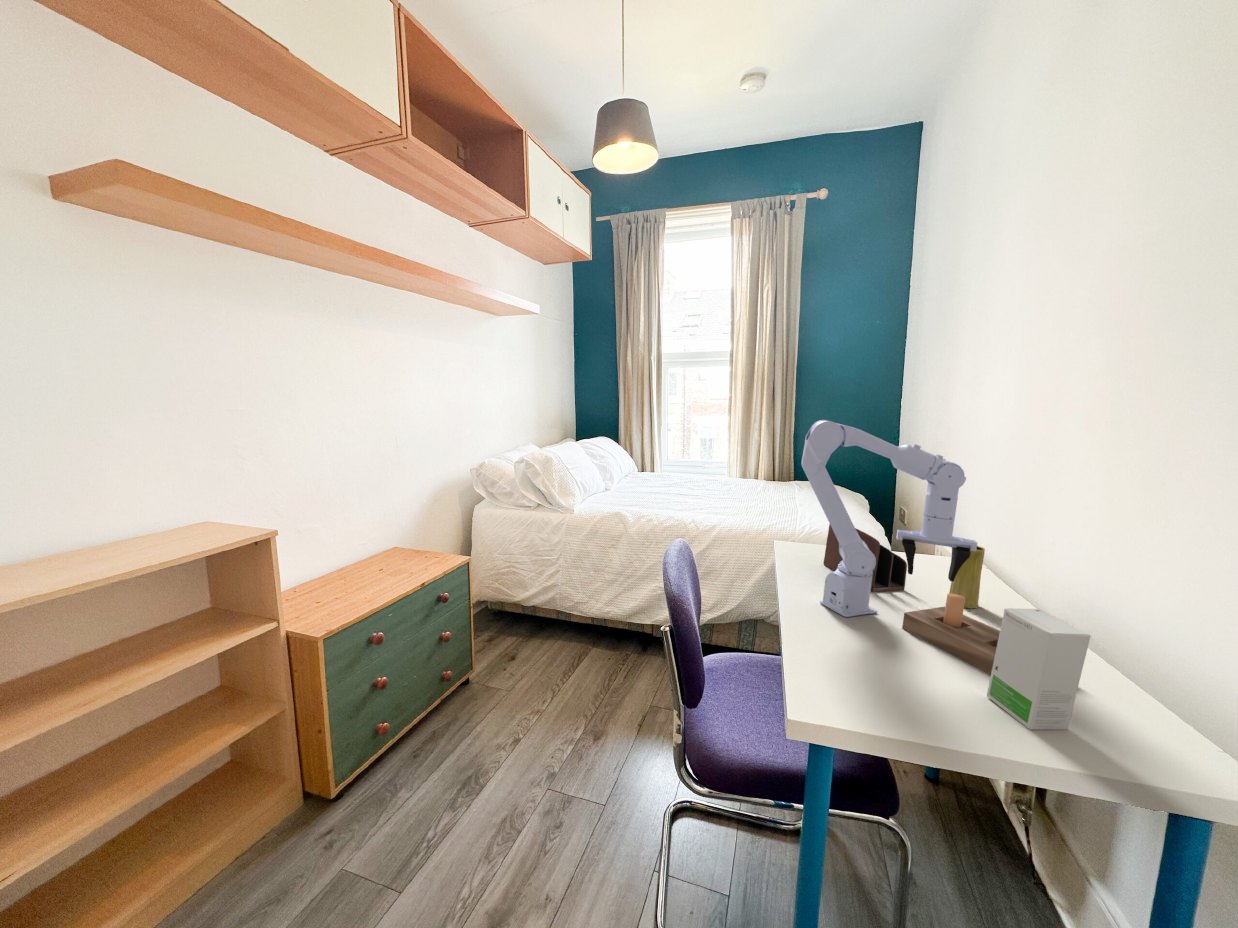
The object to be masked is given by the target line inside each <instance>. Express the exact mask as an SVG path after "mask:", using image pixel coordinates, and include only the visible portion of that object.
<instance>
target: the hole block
mask: <svg viewBox="0 0 1238 928" xmlns="http://www.w3.org/2000/svg"><path fill="white" fill-rule="evenodd" d="M945 607H946V606H939V607H932V608H927V609H919V610H913V611H907V612H904V613H903V619H902V620H903V621H902V627H901V628H902V629H903V630H905V631H906V632H909V633H910V634H913V635H914V636H916V637H918V638H920V639H922V640H924V641H926V642H928V643H930V644H932V645H934V646H935V647H936V648H937V647H938V648H940V649H941V650H943V651H945V652H947V653H948V654H951V655H953V656H954V657H956V658H959V659H960V660H962V661H964V662H966V663H968V664H970V665H971V666H973V667H976V668H977V669H979V670H981V671H983V672H985V673H986V674H988V675H991V672H992V668H993V662H994V658H995V653H996V648H997V644H998V639H999V634H1000V629H997V628H995V627H993V626H991V625H989V624H986V623H983V622H981V621H979V620H977V619H975V618H972V617H969V616H967V615H966V614H963V617H962V623H961V628H956V629H955V628H953V627H951V626H949V625H947V624H945V623H943V620H944V613H945Z"/></svg>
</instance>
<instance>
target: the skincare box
mask: <svg viewBox="0 0 1238 928" xmlns="http://www.w3.org/2000/svg"><path fill="white" fill-rule="evenodd" d="M999 630H1000V634H999V639H998V644H997V648H996V653H995V658H994V662H993V668H992V672H991V674H990V678H989V683H988V687H987V691H986V697H987V698H988V699H989V700H991V701H993V702H994V704H996V705H997V706H999V707H1000V708H1001V709H1002V710H1004V711H1005V712H1006V713H1008V714H1009V716H1012V717H1013V718H1014V719H1015V720H1016V721H1018V722H1019V723H1020V724H1021V725H1023V726H1024V727H1025V728H1027V729H1029V730H1030V731H1053V730H1055V731H1057V730H1059V731H1060V730H1066V731H1067V730H1068V729H1069V726H1070V721H1071V717H1072V712H1073V708H1074V705H1075V700H1076V697H1077V693H1078V689H1079V686H1080V685H1079V684H1080V680H1081V676H1082V672H1083V667H1084V664H1085V660H1086V656H1087V651H1088V648H1089V643H1090V640H1091V637H1092V636H1091V634H1090V633H1087V632H1086V631H1083V630H1081V629H1080V628H1078V627H1075V626H1074V625H1071V624H1070V623H1069V622H1068V621H1065V620H1064V619H1061V618H1059V617H1056V616H1054V615H1052V614H1050V613H1048V612H1046V611H1045V610H1044V609H1043V610H1042V609H1041V608H1006V607H1005V608H1004V611H1003V616H1002V621H1001V626H1000V629H999Z"/></svg>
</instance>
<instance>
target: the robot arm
mask: <svg viewBox="0 0 1238 928" xmlns="http://www.w3.org/2000/svg"><path fill="white" fill-rule="evenodd" d="M804 438H805V440H804V445H803V450H802V451H803V452H802V456H801V463H800V465H801V467H802V469H803V470H802V471H804V474H805V475H806V478H807V479H808V482H809V484H810V487H811V488H812V490H813V492H814V495H815V496H816V498H817V500H818V503H819V504H820V507H821V508H822V510H823V513H824V515H825V516H826V519H827V521H828V523H829V524H830V525H831V527H832V529H833V531H834V533H835V535H836V538H837V540H838V542H839V553H840V555H841V557H842V558H843V560H842V561H841V562H840V563H839V564H838V568H837V570H836V571H834V570H833V572H829V573H828V574H827V575H826V577H825V579H824V588H823V595H822V596H823V597H822V599H821V600H820V601H819V603H820V604H821V605H823V606H826V607H827V608H829V609H830V610H832V611H834V612H835V613H838V614H839V615H841V616H842V617H845V618H851V617H855V616H857V617H858V616H864V615H869V614H870V615H871V614H877V613H878V610H877V609H875V608H873V607H871V606H870V598H871V597H870V595H871V591H870V590H871V582H872V574H873V570H874V568H875V566H876V558H875V556H874V554H873V553H872V552H871V551H870V550H869V548H868V546H867V544H866V543H865V542H864V541H863V540H862V539H861V538H860V536H859V535H858V533H857V531H856V529H857V528H856V527H855V525H854V523H853V521H852V519H851V517H850V515H849V514H848V511H847V509H846V507H845V504H844V503H843V500H842V499H841V497H840V495H839V493H838V490H837V488H836V486H835V484H834V482H833V481H832V480H833V479H832V478H831V476H830V474H829V472H828V470H827V468H826V465H827V463H828V461H829V460H830V457H831V455H832V453H834V452H835V451H836V450H837V449H838V448H839V447H840V446H842V447H844V448H846V447H855V446H856V447H859V448H862V449H864V450H866V451H869V452H872V453H875V454H877V455H880V456H882V457H884V458H887V459H890V462H891V464H892V466H893V468H894V469H896V470H899V471H901V472H903V473H906V474H908V475H911V476H913V477H914V478H916V479H920V480H922V481H927V486H926V487H927V488H926V492H925V499H924V507H923V514H922V521H921V528H920V531H918V530H917V531H915V530H903V529H897V531H896V535H895V536H896V537H895V538H896V540H897V541H901V544H902V547H903V549H904V552H905V557H906V563H907V575H913V572H914V560H915V556H916V555H915V554H916V550H917V546H916V543H921V544H927V545H934V546H935V545H936V546H943V547H948V548H951V556H950V557H951V559H950V566H949V569H948V576H947V577H948V580H949V582H951V581H952V582H954V579H955V577H956V575H957V573H958V571H959V569H960V568H961V566H962V565H963V564H964V562H965V561H966V560H967V559H968V558H969V557H970V555H971V552H970V550H971V551H976V549H977V546H978V541H976V539H969V538H965V537H964V538H963V537H959V536H953V532H954V526H955V518H956V512H957V505H958V500H959V499H958V498H959V489H960V488H961V487H962V486H964V484H965V482H966V480H967V477H966V476H965V471H964V469H963V468H962V466H961V465H959V464H957V463H955V462H951V461H950V460H949V461H948V460H947V459H945V458H944V456H943V455H941V454H939V453H938V454H936V455H935V454H933V453H930V452H928V451H926V450H923V449H921V447H922V446H921V445H919V444H917V443H912V445H911V444H910V443H909V444H908V443H906V444H903V445H899V446H897V445H896V444H893V443H890V442H888V441H886V440H883V439H882V438H879V437H877V436H875V435H873V434H870V433H868V432H866V431H864V430H862V429H860V428H857V427H853V426H849V425H846V424H840V423H837V422H834V421H832V420H827V419H821V420H818V421H815V422H814V423H813V424H812V425H811V427H810V428H809V429H808V431H807V433H806V435H805V437H804ZM855 528H856V529H855Z"/></svg>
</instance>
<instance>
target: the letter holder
mask: <svg viewBox="0 0 1238 928" xmlns="http://www.w3.org/2000/svg"><path fill="white" fill-rule="evenodd" d="M855 529H856V531H857V533H858V535H859V536H860V538H861V539H862V540H863V541H864V542H865V543H866V544H867V546H868V548H869V550H870V551H871V552H872V553H873V554H874V556H875V558H876V566H875V568H874V570H873V574H872V582H871V590H870V593H875V592H879V593H880V592H896V591H897V592H898V591H900V592H901V591H905V587H906V578H907V572H908V564H907V560H905V559H903V558H902V557H901V556H900V555H897V554H896V553H895V552H892V551H891V550H890V549H888V548H887V547H885V546H884V545H882V544H880V543H881V542H879V540H878V539H877V538H875V537H873V536H872V535H870V534H868V533H866V532H865V531H862V530H860V529H858V528H856V527H855ZM824 551H825V552H824V556H823V557H824V559H823V565H824V567H827V568H828V569H830V570H832V571H833V572H834V571H836V570H837V568H838V564H839V563H840V562H841V561H842V560H843V558H842V557H841V555H840V553H839V542H838V540H837V538H836V535H835V533H834V531H833V529H832V527H831V525H830V523H829V526H828V532H827V536H826V544H825V550H824Z"/></svg>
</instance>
